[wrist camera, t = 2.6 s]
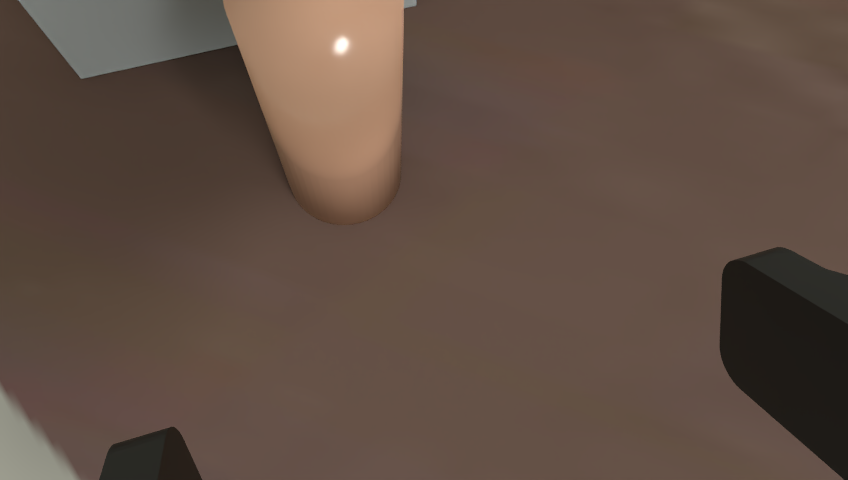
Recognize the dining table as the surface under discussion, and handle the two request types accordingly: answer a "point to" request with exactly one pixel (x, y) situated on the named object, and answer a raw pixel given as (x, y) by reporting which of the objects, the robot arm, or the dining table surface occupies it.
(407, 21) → the dining table surface
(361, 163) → the peach rounded cylinder
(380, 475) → the dining table surface
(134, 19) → the low wall
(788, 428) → the robot arm
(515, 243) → the dining table surface
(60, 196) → the dining table surface
